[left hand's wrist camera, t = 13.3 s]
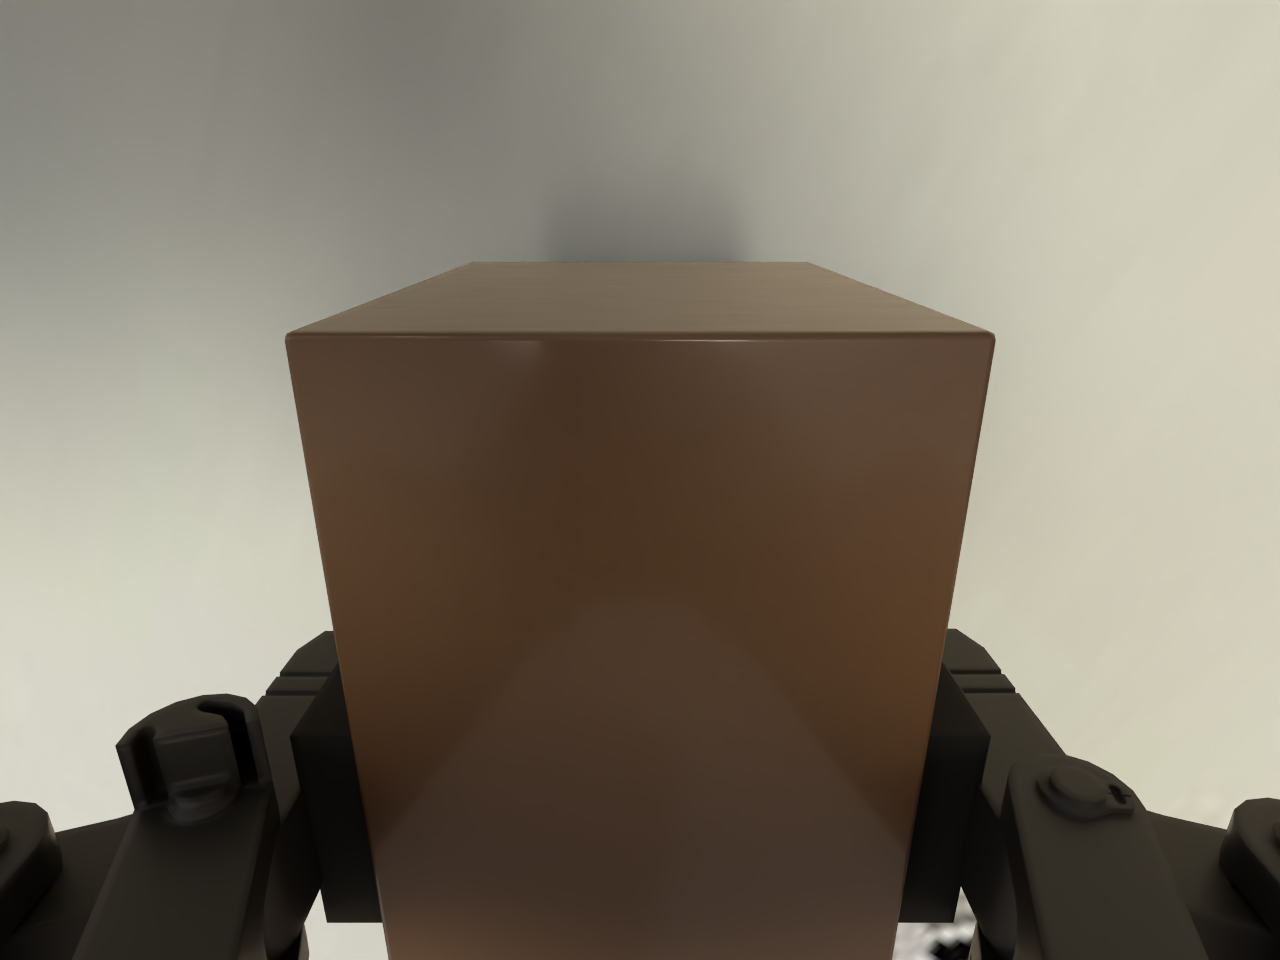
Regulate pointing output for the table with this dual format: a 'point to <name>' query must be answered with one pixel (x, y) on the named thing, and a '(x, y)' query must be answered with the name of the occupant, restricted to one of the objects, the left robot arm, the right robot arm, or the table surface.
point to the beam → (640, 599)
